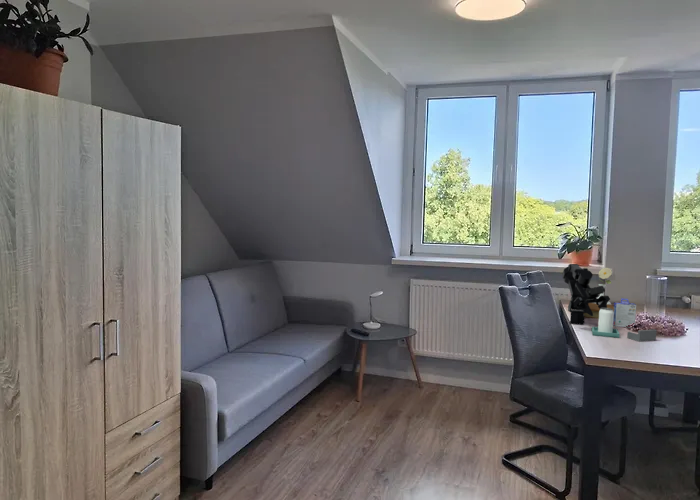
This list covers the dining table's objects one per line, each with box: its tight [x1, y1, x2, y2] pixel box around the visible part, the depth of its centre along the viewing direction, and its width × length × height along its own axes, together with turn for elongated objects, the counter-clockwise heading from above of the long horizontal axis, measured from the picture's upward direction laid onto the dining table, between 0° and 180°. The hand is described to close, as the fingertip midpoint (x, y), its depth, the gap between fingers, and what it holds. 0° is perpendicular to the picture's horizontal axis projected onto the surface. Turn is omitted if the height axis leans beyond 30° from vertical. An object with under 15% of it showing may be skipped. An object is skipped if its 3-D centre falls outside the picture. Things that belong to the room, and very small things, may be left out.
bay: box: [626, 329, 657, 343], centre depth 255 cm, size 7×10×5 cm
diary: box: [584, 303, 614, 320], centre depth 310 cm, size 23×19×6 cm
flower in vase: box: [596, 267, 613, 305], centre depth 339 cm, size 13×11×25 cm
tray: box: [591, 326, 620, 339], centre depth 263 cm, size 12×12×2 cm
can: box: [597, 308, 614, 333], centre depth 263 cm, size 6×6×12 cm
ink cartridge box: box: [613, 297, 637, 328], centre depth 282 cm, size 10×6×14 cm, turn 78°
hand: (599, 315), depth 267 cm, fingers open, 9 cm apart
